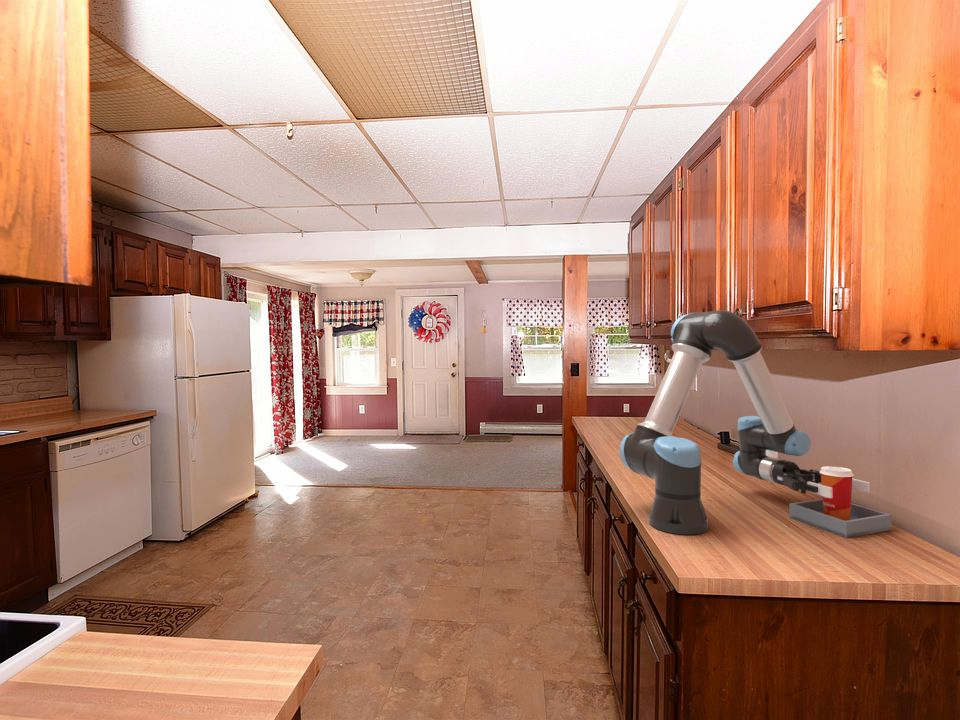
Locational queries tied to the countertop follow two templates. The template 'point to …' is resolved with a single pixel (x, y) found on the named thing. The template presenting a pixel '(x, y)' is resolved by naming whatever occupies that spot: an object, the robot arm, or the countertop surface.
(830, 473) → the paper cup
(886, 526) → the box
